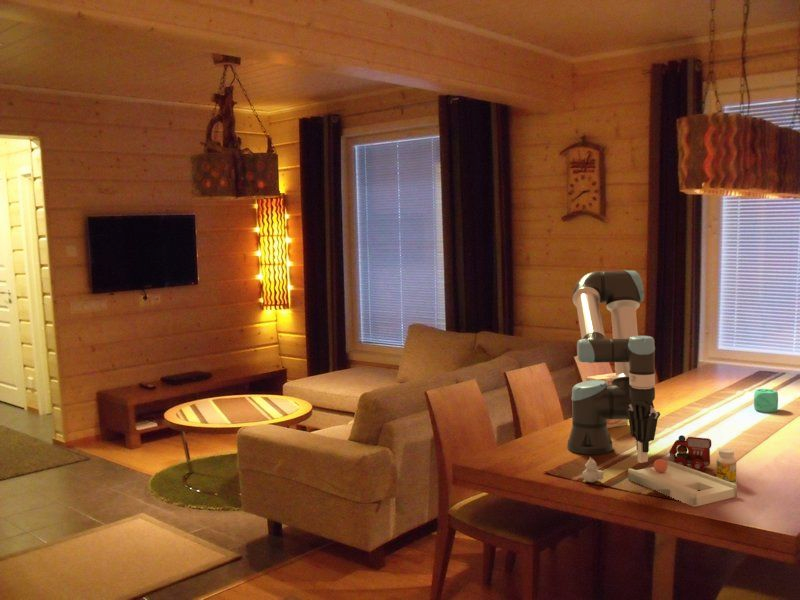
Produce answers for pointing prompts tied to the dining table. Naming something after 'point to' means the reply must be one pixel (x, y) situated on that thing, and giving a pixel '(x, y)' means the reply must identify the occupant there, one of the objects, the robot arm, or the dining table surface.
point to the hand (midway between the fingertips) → (642, 461)
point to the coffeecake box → (608, 380)
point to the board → (684, 484)
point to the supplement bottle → (726, 465)
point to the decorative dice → (766, 400)
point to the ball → (660, 465)
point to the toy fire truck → (691, 452)
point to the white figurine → (592, 472)
